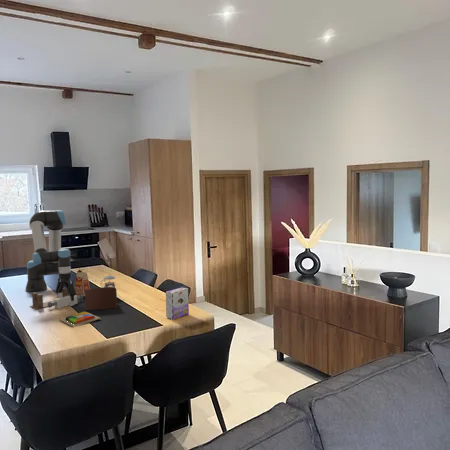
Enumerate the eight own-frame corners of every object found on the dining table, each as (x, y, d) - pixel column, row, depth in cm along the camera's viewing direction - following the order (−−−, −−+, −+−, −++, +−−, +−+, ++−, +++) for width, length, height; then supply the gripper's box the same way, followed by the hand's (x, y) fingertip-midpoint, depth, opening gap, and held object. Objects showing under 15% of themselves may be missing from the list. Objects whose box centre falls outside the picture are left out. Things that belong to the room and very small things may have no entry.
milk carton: (84, 296, 309) (83, 268, 307) (73, 295, 310) (71, 268, 309) (91, 293, 317) (90, 266, 316) (79, 292, 319) (78, 266, 317)
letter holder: (117, 307, 279) (116, 286, 277) (85, 310, 273) (84, 289, 272) (116, 303, 288) (115, 283, 287) (85, 306, 283) (84, 285, 281)
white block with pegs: (47, 308, 278) (46, 299, 277) (80, 300, 297) (79, 292, 296) (51, 310, 275) (50, 300, 274) (83, 302, 294) (83, 293, 293)
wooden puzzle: (58, 321, 253) (58, 315, 253) (88, 314, 266) (88, 309, 266) (71, 328, 240) (71, 322, 240) (102, 320, 253) (102, 314, 253)
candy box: (182, 312, 266) (181, 286, 265) (189, 314, 262) (188, 288, 261) (165, 318, 256) (165, 291, 254) (172, 320, 252) (172, 292, 250)
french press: (113, 298, 301) (112, 263, 299) (98, 297, 304) (96, 263, 301) (119, 295, 311) (118, 261, 309) (104, 294, 313) (103, 260, 311)
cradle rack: (29, 306, 282) (29, 293, 281) (63, 299, 301) (62, 286, 300) (37, 309, 276) (36, 295, 275) (70, 301, 295) (70, 288, 294)
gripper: (49, 271, 289) (50, 302, 290) (70, 275, 273) (71, 308, 275) (59, 269, 294) (61, 299, 296) (80, 273, 279) (81, 305, 281)
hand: (66, 303), depth 286 cm, fingers open, 13 cm apart
